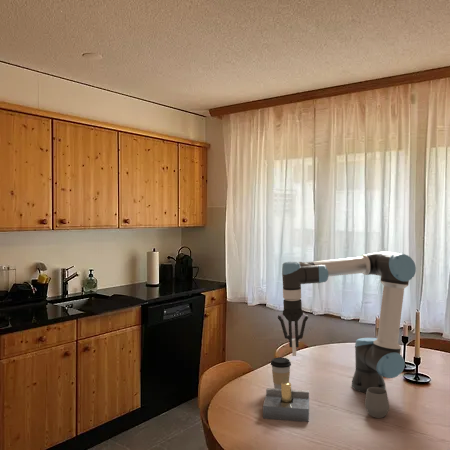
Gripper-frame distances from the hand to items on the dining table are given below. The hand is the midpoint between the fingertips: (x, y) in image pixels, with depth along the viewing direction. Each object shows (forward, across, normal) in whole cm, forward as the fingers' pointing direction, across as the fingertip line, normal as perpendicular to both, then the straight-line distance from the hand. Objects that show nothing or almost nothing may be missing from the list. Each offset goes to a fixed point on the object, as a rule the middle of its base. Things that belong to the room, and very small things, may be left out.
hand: (294, 354), depth 188 cm
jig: (+23, +4, +5) cm, 23 cm away
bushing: (+23, +4, +5) cm, 23 cm away
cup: (+24, -32, +1) cm, 40 cm away
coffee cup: (+23, +7, -16) cm, 29 cm away
